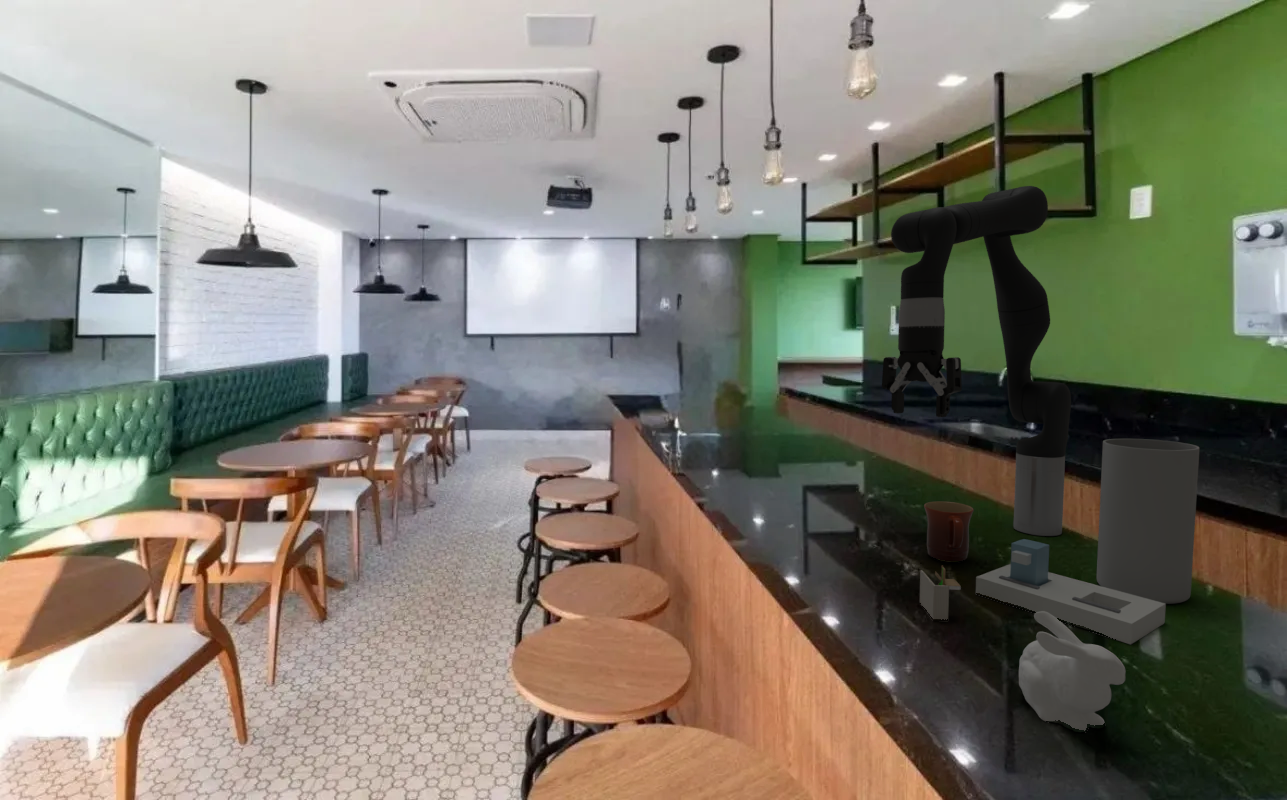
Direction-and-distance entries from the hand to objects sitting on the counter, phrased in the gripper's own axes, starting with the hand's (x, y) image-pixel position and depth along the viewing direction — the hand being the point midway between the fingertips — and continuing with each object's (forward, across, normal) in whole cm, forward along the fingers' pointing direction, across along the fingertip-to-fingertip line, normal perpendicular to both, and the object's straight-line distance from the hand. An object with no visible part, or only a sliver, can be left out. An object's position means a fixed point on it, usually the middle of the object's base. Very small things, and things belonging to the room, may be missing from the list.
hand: (919, 414), depth 115 cm
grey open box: (+30, -12, +13) cm, 35 cm away
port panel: (+29, -23, -5) cm, 37 cm away
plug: (+29, -17, -5) cm, 34 cm away
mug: (+30, 0, -11) cm, 31 cm away
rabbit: (+30, -37, +27) cm, 54 cm away
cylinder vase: (+30, -27, -23) cm, 46 cm away
